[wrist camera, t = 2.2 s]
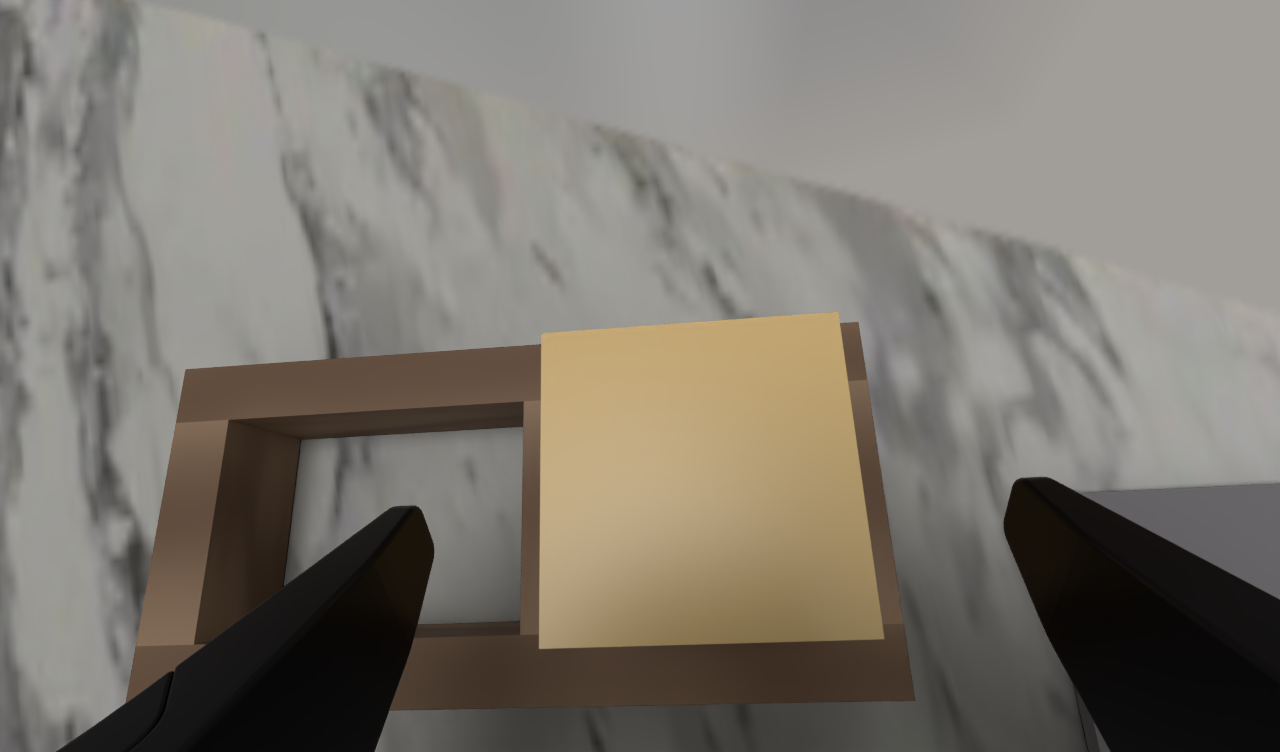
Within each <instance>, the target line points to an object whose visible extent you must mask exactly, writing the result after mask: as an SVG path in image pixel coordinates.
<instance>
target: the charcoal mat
mask: <svg viewBox="0 0 1280 752" xmlns="http://www.w3.org/2000/svg"><path fill="white" fill-rule="evenodd" d="M1080 494H1082V495H1084V496H1085V497H1087V498H1089V499H1091V500H1093V501H1095V502H1097V503H1099V504H1101V505H1102V506H1104V507H1106V508H1108V509H1110V510H1112V511H1114V512H1116V513H1118V514H1120V515H1121V516H1123V517H1125V518H1127V519H1129V520H1131V521H1133V522H1135V523H1137V524H1138V525H1140V526H1142V527H1144V528H1146V529H1148V530H1150V531H1152V532H1154V533H1155V534H1157V535H1159V536H1161V537H1163V538H1165V539H1167V540H1169V541H1171V542H1172V543H1174V544H1176V545H1178V546H1180V547H1182V548H1184V549H1186V550H1188V551H1190V552H1191V553H1193V554H1195V555H1197V556H1199V557H1201V558H1203V559H1205V560H1207V561H1208V562H1210V563H1212V564H1214V565H1216V566H1218V567H1220V568H1222V569H1224V570H1225V571H1227V572H1229V573H1231V574H1233V575H1235V576H1237V577H1239V578H1241V579H1243V580H1244V581H1246V582H1248V583H1250V584H1252V585H1254V586H1256V587H1258V588H1260V589H1261V590H1263V591H1265V592H1267V593H1269V594H1271V595H1273V596H1275V597H1277V598H1278V599H1280V484H1264V485H1242V486H1220V487H1199V488H1177V489H1155V490H1133V491H1112V492H1090V493H1080ZM1075 691H1076V696H1077V700H1078V705H1079V709H1080V714H1081V718H1082V723H1083V728H1084V732H1085V737H1086V741H1087V746H1088V751H1089V752H1110V750H1109V748H1108V747H1107V745H1106V743H1105V741H1104V739H1103V737H1102V736H1101V734H1100V732H1099V730H1098V728H1097V726H1096V725H1095V723H1094V721H1093V719H1092V717H1091V715H1090V714H1089V712H1088V710H1087V708H1086V706H1085V704H1084V703H1083V701H1082V699H1081V697H1080V695H1079V694H1078V692H1077V690H1076V688H1075Z"/></svg>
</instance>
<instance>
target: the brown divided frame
mask: <svg viewBox="0 0 1280 752" xmlns="http://www.w3.org/2000/svg"><path fill="white" fill-rule="evenodd" d="M840 328H841V335H842V342H843V349H844V356H845V363H846V370H847V378H848V385H849V392H850V399H851V406H852V413H853V420H854V427H855V434H856V441H857V448H858V455H859V462H860V469H861V477H862V484H863V491H864V498H865V505H866V512H867V519H868V526H869V533H870V540H871V547H872V554H873V561H874V568H875V576H876V583H877V590H878V597H879V604H880V611H881V618H882V625H883V632H884V639H876V640H840V641H804V642H768V643H733V644H697V645H661V646H625V647H589V648H553V649H539V576H540V443H541V344H539V345H525V346H511V347H497V348H483V349H468V350H454V351H440V352H426V353H412V354H397V355H383V356H369V357H355V358H341V359H326V360H312V361H298V362H284V363H270V364H255V365H241V366H227V367H213V368H199V369H186V370H185V376H184V381H183V387H182V392H181V398H180V404H179V409H178V415H177V420H176V426H175V431H174V437H173V442H172V448H171V454H170V459H169V465H168V470H167V476H166V481H165V487H164V492H163V498H162V504H161V509H160V515H159V520H158V526H157V531H156V537H155V542H154V548H153V554H152V559H151V565H150V570H149V576H148V581H147V587H146V592H145V598H144V604H143V609H142V615H141V620H140V626H139V631H138V637H137V642H136V648H135V654H134V659H133V665H132V670H131V676H130V681H129V687H128V692H127V698H126V703H127V702H128V701H129V700H131V699H132V698H134V697H135V696H136V695H138V694H139V693H141V692H142V691H143V690H145V689H146V688H147V687H149V686H150V685H151V684H153V683H154V682H156V681H157V680H158V679H160V678H161V677H162V676H164V675H165V674H166V673H168V672H169V671H174V670H175V667H176V666H177V665H179V664H180V663H181V662H183V661H184V660H185V659H187V658H188V657H189V656H191V655H192V654H193V653H195V652H196V651H198V650H199V649H200V648H202V647H203V646H204V645H206V644H207V643H208V642H210V641H211V640H212V639H214V638H215V637H216V636H218V635H219V634H221V633H222V632H223V631H225V630H226V629H227V628H229V627H230V626H231V625H233V624H234V623H235V622H237V621H238V620H239V619H241V618H242V617H244V616H245V615H246V614H248V613H249V612H250V611H252V610H253V609H254V608H256V607H257V606H258V605H260V604H261V603H262V602H264V601H265V600H267V599H268V598H269V597H271V596H272V595H273V594H275V593H276V592H277V591H279V590H280V589H281V588H283V581H284V573H285V564H286V556H287V548H288V539H289V531H290V523H291V514H292V506H293V498H294V489H295V481H296V473H297V464H298V456H299V448H300V440H303V439H320V438H336V437H353V436H370V435H387V434H404V433H421V432H438V431H455V430H472V429H489V428H506V427H523V483H522V547H521V611H520V621H519V622H487V623H455V624H423V625H417V629H416V633H415V637H414V640H413V644H412V647H411V651H410V654H409V657H408V660H407V663H406V666H405V668H404V671H403V674H402V677H401V679H400V682H399V685H398V688H397V690H396V693H395V696H394V699H393V702H392V704H391V707H390V710H389V711H391V710H443V709H496V708H548V707H601V706H653V705H706V704H758V703H811V702H863V701H915V696H914V690H913V683H912V676H911V670H910V663H909V656H908V650H907V643H906V636H905V630H904V623H903V616H902V610H901V603H900V596H899V590H898V583H897V576H896V570H895V563H894V556H893V550H892V543H891V536H890V530H889V523H888V516H887V510H886V503H885V496H884V490H883V483H882V476H881V470H880V463H879V456H878V450H877V443H876V436H875V430H874V423H873V416H872V410H871V403H870V396H869V390H868V383H867V376H866V369H865V363H864V356H863V349H862V343H861V336H860V329H859V323H858V322H852V323H840Z"/></svg>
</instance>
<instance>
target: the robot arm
mask: <svg viewBox="0 0 1280 752" xmlns="http://www.w3.org/2000/svg"><path fill="white" fill-rule="evenodd" d="M1004 532H1005V536H1006V539H1007V541H1008V544H1009V546H1010V549H1011V551H1012V554H1013V556H1014V558H1015V561H1016V563H1017V566H1018V568H1019V570H1020V573H1021V575H1022V578H1023V580H1024V583H1025V585H1026V587H1027V590H1028V592H1029V595H1030V597H1031V599H1032V602H1033V604H1034V607H1035V609H1036V611H1037V614H1038V616H1039V619H1040V621H1041V623H1042V625H1043V628H1044V630H1045V632H1046V634H1047V636H1048V638H1049V640H1050V642H1051V644H1052V646H1053V648H1054V650H1055V651H1056V653H1057V655H1058V657H1059V659H1060V661H1061V662H1062V664H1063V666H1064V668H1065V670H1066V672H1067V673H1068V675H1069V677H1070V679H1071V681H1072V683H1073V684H1074V686H1075V688H1076V690H1077V692H1078V694H1079V695H1080V697H1081V699H1082V701H1083V703H1084V704H1085V706H1086V708H1087V710H1088V712H1089V714H1090V715H1091V717H1092V719H1093V721H1094V723H1095V725H1096V726H1097V728H1098V730H1099V732H1100V734H1101V736H1102V737H1103V739H1104V741H1105V743H1106V745H1107V747H1108V748H1109V750H1110V752H1280V599H1278V598H1277V597H1275V596H1273V595H1271V594H1269V593H1267V592H1265V591H1263V590H1261V589H1260V588H1258V587H1256V586H1254V585H1252V584H1250V583H1248V582H1246V581H1244V580H1243V579H1241V578H1239V577H1237V576H1235V575H1233V574H1231V573H1229V572H1227V571H1225V570H1224V569H1222V568H1220V567H1218V566H1216V565H1214V564H1212V563H1210V562H1208V561H1207V560H1205V559H1203V558H1201V557H1199V556H1197V555H1195V554H1193V553H1191V552H1190V551H1188V550H1186V549H1184V548H1182V547H1180V546H1178V545H1176V544H1174V543H1172V542H1171V541H1169V540H1167V539H1165V538H1163V537H1161V536H1159V535H1157V534H1155V533H1154V532H1152V531H1150V530H1148V529H1146V528H1144V527H1142V526H1140V525H1138V524H1137V523H1135V522H1133V521H1131V520H1129V519H1127V518H1125V517H1123V516H1121V515H1120V514H1118V513H1116V512H1114V511H1112V510H1110V509H1108V508H1106V507H1104V506H1102V505H1101V504H1099V503H1097V502H1095V501H1093V500H1091V499H1089V498H1087V497H1085V496H1084V495H1082V494H1080V493H1078V492H1076V491H1074V490H1072V489H1070V488H1068V487H1067V486H1065V485H1063V484H1061V483H1059V482H1057V481H1055V480H1053V479H1051V478H1048V477H1028V478H1020V479H1017V480H1016V481H1015V482H1014V484H1013V486H1012V490H1011V494H1010V498H1009V501H1008V505H1007V509H1006V513H1005V517H1004ZM433 559H434V544H433V540H432V538H431V535H430V532H429V529H428V526H427V524H426V521H425V518H424V515H423V513H422V511H421V509H420V508H419V507H417V506H396V507H392V508H390V509H388V510H387V511H386V512H384V513H383V514H381V515H380V516H379V517H377V518H376V519H375V520H373V521H372V522H371V523H369V524H368V525H367V526H365V527H364V528H363V529H361V530H360V531H358V532H357V533H356V534H354V535H353V536H352V537H350V538H349V539H348V540H346V541H345V542H344V543H342V544H341V545H340V546H338V547H337V548H336V549H334V550H333V551H331V552H330V553H329V554H327V555H326V556H325V557H323V558H322V559H321V560H319V561H318V562H317V563H315V564H314V565H313V566H311V567H310V568H308V569H307V570H306V571H304V572H303V573H302V574H300V575H299V576H298V577H296V578H295V579H294V580H292V581H291V582H290V583H288V584H287V585H285V586H284V587H283V588H281V589H280V590H279V591H277V592H276V593H275V594H273V595H272V596H271V597H269V598H268V599H267V600H265V601H264V602H262V603H261V604H260V605H258V606H257V607H256V608H254V609H253V610H252V611H250V612H249V613H248V614H246V615H245V616H244V617H242V618H241V619H239V620H238V621H237V622H235V623H234V624H233V625H231V626H230V627H229V628H227V629H226V630H225V631H223V632H222V633H221V634H219V635H218V636H216V637H215V638H214V639H212V640H211V641H210V642H208V643H207V644H206V645H204V646H203V647H202V648H200V649H199V650H198V651H196V652H195V653H193V654H192V655H191V656H189V657H188V658H187V659H185V660H184V661H183V662H181V663H180V664H179V665H177V666H176V667H175V670H174V671H169V672H168V673H166V674H165V675H164V676H162V677H161V678H160V679H158V680H157V681H156V682H154V683H153V684H151V685H150V686H149V687H147V688H146V689H145V690H143V691H142V692H141V693H139V694H138V695H136V696H135V697H134V698H132V699H131V700H129V701H128V702H127V703H125V704H124V705H123V706H121V707H120V708H118V709H117V710H116V711H114V712H113V713H111V714H110V715H109V716H107V717H106V718H104V719H103V720H102V721H100V722H99V723H97V724H96V725H95V726H93V727H92V728H90V729H89V730H87V731H86V732H84V733H83V734H81V735H80V736H79V737H77V738H76V739H74V740H73V741H71V742H70V743H68V744H67V745H65V746H64V747H62V748H61V749H59V750H58V751H56V752H374V751H375V749H376V746H377V743H378V740H379V738H380V735H381V732H382V729H383V727H384V724H385V721H386V718H387V715H388V713H389V710H390V707H391V704H392V702H393V699H394V696H395V693H396V690H397V688H398V685H399V682H400V679H401V677H402V674H403V671H404V668H405V666H406V663H407V660H408V657H409V654H410V651H411V647H412V644H413V640H414V637H415V633H416V629H417V625H418V621H419V616H420V612H421V608H422V604H423V600H424V596H425V592H426V588H427V584H428V580H429V575H430V571H431V567H432V563H433Z"/></svg>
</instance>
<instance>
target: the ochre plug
mask: <svg viewBox="0 0 1280 752" xmlns="http://www.w3.org/2000/svg"><path fill="white" fill-rule="evenodd" d="M876 639H884V632H883V625H882V618H881V611H880V604H879V597H878V590H877V583H876V576H875V568H874V561H873V554H872V547H871V540H870V533H869V526H868V519H867V512H866V505H865V498H864V491H863V484H862V477H861V469H860V462H859V455H858V448H857V441H856V434H855V427H854V420H853V413H852V406H851V399H850V392H849V385H848V378H847V370H846V363H845V356H844V349H843V342H842V335H841V328H840V321H839V314H838V312H830V313H817V314H803V315H789V316H775V317H761V318H747V319H733V320H720V321H706V322H692V323H678V324H664V325H650V326H636V327H623V328H609V329H595V330H581V331H567V332H553V333H541V443H540V576H539V649H553V648H589V647H625V646H661V645H697V644H733V643H768V642H804V641H840V640H876Z"/></svg>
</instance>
